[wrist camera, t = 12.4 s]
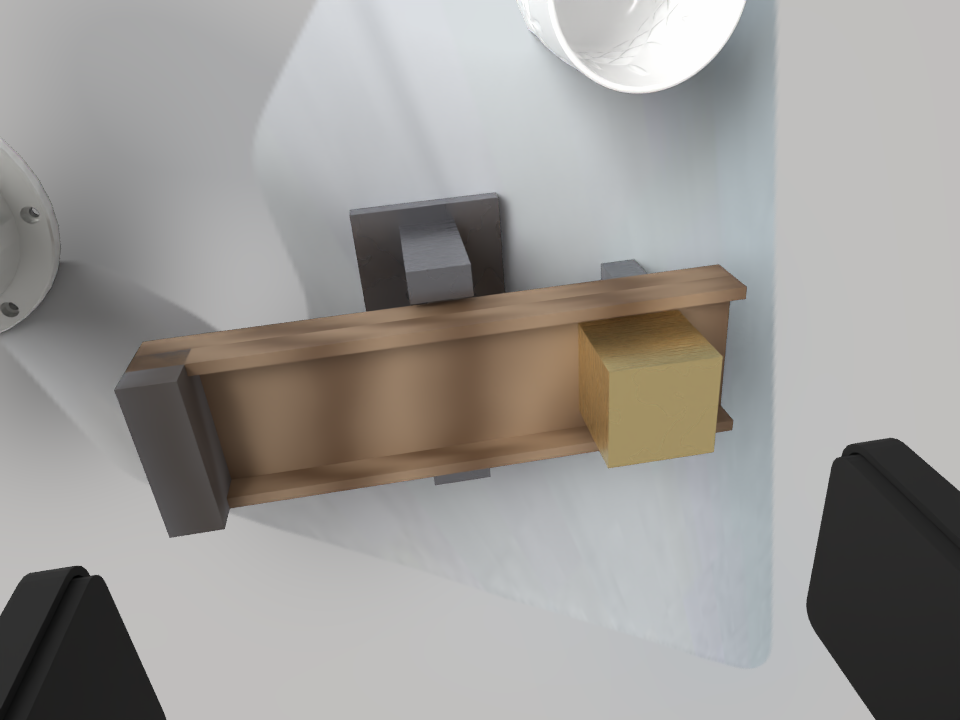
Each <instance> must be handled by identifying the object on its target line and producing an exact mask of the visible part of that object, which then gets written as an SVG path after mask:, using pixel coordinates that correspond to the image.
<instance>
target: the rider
mask: <svg viewBox="0 0 960 720" xmlns="http://www.w3.org/2000/svg"><path fill="white" fill-rule="evenodd" d="M578 359H579V411H580V413H581V415H582V417H583V419H584V421H585V423H586V425H587V427H588V429H589V431H590V433H591V435H592V437H593V439H594V441H595V443H596V445H597V447H598V449H599V451H600V453H601V455H602V457H603V459H604V461H605V463H606V465H607V467H608V468H613V467H620V466H626V465H633V464H639V463H646V462H652V461H659V460H666V459H672V458H679V457H685V456H692V455H698V454H705V453H711V452H714V443H715V432H716V422H717V412H718V401H719V391H720V381H721V370H722V360H723V356H722V355H721V354H720V353H719V352H718V351H717V350H716V349H715V348H714V347H713V346H712V345H711V344H710V343H709V342H708V341H707V340H706V339H705V338H704V337H703V335H702V334H701V333H700V332H699V331H698V330H697V329H696V328H695V327H694V326H693V325H692V324H691V323H690V322H689V321H688V320H687V319H686V318H685V317H684V315H683V314H682V313H681V312H680V311H679V310H672V311H664V312H657V313H649V314H642V315H634V316H627V317H619V318H612V319H604V320H597V321H589V322H582V323H578Z"/></svg>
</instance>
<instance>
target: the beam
mask: <svg viewBox="0 0 960 720" xmlns="http://www.w3.org/2000/svg"><path fill="white" fill-rule="evenodd" d="M746 290H747V287H746V286H745V285H744V284H743V283H741V282H740V281H739V280H738V279H736V278H735V277H734V276H733V275H731V274H730V273H729V272H728V271H726V270H725V269H724V268H723V267H721V266H720V265H719V264H718V265H711V266H703V267H696V268H688V269H681V270H674V271H666V272H659V273H651V274H644V275H636V276H629V277H621V278H614V279H607V280H599V281H592V282H584V283H577V284H569V285H562V286H554V287H547V288H539V289H532V290H525V291H517V292H510V293H502V294H495V295H487V296H480V297H472V298H465V299H458V300H454V299H448V300H441V301H433V302H428V303H427V304H420V305H413V306H405V307H398V308H390V309H383V310H376V311H368V312H361V313H353V314H346V315H338V316H331V317H323V318H316V319H309V320H301V321H294V322H286V323H279V324H271V325H264V326H256V327H250V328H241V329H234V330H227V331H219V332H212V333H204V334H197V335H189V336H182V337H174V338H167V339H160V340H152V341H145V342H142V344H141V346H140V347H139V349H138V351H137V352H136V354H135V356H134V358H133V359H132V361H131V363H130V364H129V366H128V368H127V369H126V371H125V373H124V374H123V376H122V378H121V379H120V381H119V383H118V385H117V386H116V388H115V390H114V391H115V393H116V396H117V399H118V401H119V404H120V407H121V409H122V412H123V415H124V417H125V420H126V423H127V425H128V428H129V431H130V433H131V436H132V439H133V441H134V444H135V447H136V449H137V452H138V455H139V457H140V460H141V463H142V465H143V468H144V471H145V473H146V476H147V478H148V481H149V484H150V486H151V489H152V492H153V494H154V497H155V500H156V502H157V505H158V508H159V510H160V513H161V516H162V518H163V521H164V523H165V526H166V529H167V532H168V534H169V537H170V538H171V537H177V536H184V535H190V534H196V533H203V532H209V531H215V530H221V529H225V525H226V521H227V517H228V513H229V509H230V508H235V507H242V506H248V505H254V504H261V503H267V502H274V501H280V500H287V499H293V498H299V497H306V496H312V495H319V494H325V493H331V492H338V491H344V490H351V489H357V488H364V487H370V486H376V485H383V484H389V483H396V482H402V481H409V480H415V479H421V478H428V477H434V476H441V475H447V474H453V473H460V472H466V471H473V470H479V469H486V468H492V467H498V466H505V465H511V464H518V463H524V462H530V461H537V460H543V459H550V458H556V457H563V456H569V455H575V454H582V453H588V452H595V451H599V449H598V447H597V445H596V443H595V441H594V439H593V437H592V435H591V433H590V431H589V429H588V427H587V425H586V423H585V421H584V419H583V417H582V415H581V413H580V411H579V359H578V323H582V322H589V321H597V320H604V319H612V318H619V317H627V316H634V315H642V314H649V313H657V312H664V311H672V310H679V311H680V312H681V313H682V314H683V315H684V317H685V318H686V319H687V320H688V321H689V322H690V323H691V324H692V325H693V326H694V327H695V328H696V329H697V330H698V331H699V332H700V333H701V334H702V335H703V337H704V338H705V339H706V340H707V341H708V342H709V343H710V344H711V345H712V346H713V347H714V348H715V349H716V350H717V351H718V352H719V353H720V354H721V355H722V356H723V360H722V370H721V381H720V391H719V401H718V412H717V422H716V432H715V433H717V432H723V431H729V430H732V427H733V420H732V418H731V417H730V416H729V415H728V414H727V412H726V411H725V410H724V409H723V408H722V406H721V394H722V383H723V372H724V361H725V350H726V339H727V328H728V317H729V306H730V301H734V300H741V299H746Z"/></svg>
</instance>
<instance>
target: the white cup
mask: <svg viewBox="0 0 960 720" xmlns="http://www.w3.org/2000/svg"><path fill="white" fill-rule="evenodd" d="M516 2H517V4H518V7H519V9H520V11H521V14H522V16H523V19H524V21H525V23H526V26H527V28H528V29H529V30H530V31H531V32H532V33H533V34H534V35H535V36H536V37H538V38H539V39H540V41H541V42H542V43H543V44H544V45H545V46H546V47H547V48H548V49H549V50H550V51H551V52H553V53H554V54H555V55H556V56H558V57H559V58H560V59H561V60H563V61H564V62H565V63H567V64H568V65H570V66H572V67H573V68H575V69H576V70H578V71H579V72H581V73H582V74H584V75H585V76H587V77H588V78H590V79H591V80H593V81H594V82H596V83H598V84H600V85H602V86H604V87H607V88H609V89H612V90H615V91H619V92H624V93H634V94H641V93H652V92H657V91H661V90H665V89H668V88H671V87H673V86H676V85H678V84H680V83H682V82H684V81H686V80H687V79H689V78H691V77H692V76H694V75H695V74H696V73H698V72H699V71H700V70H702V69H703V68H704V67H705V66H706V65H707V64H708V63H710V62H711V61H712V60H713V58H714V57H715V56H716V55H717V54H718V53H719V52H720V50H721V49H722V48H723V47H724V45H725V44H726V42H727V41H728V39H729V38H730V36H731V35H732V33H733V31H734V29H735V28H736V26H737V24H738V22H739V19H740V17H741V15H742V12H743V10H744V7H745V4H746V0H516Z"/></svg>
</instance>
